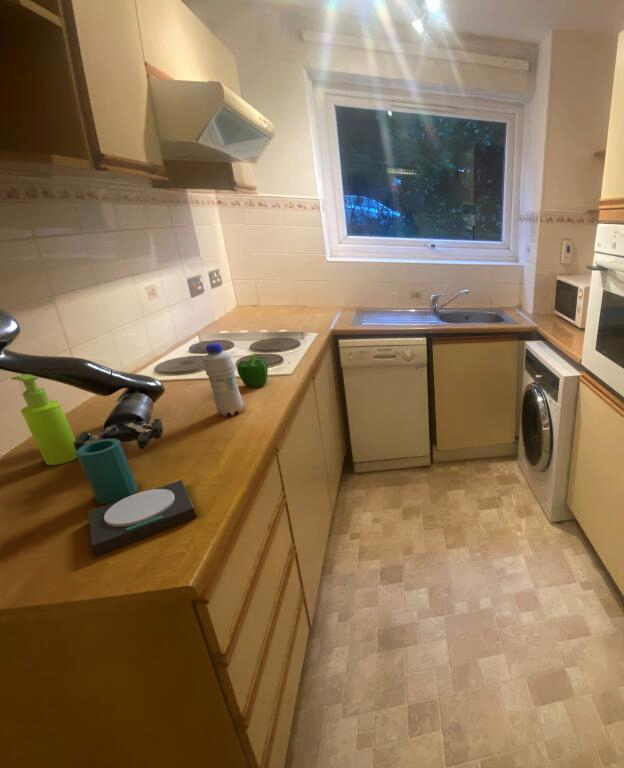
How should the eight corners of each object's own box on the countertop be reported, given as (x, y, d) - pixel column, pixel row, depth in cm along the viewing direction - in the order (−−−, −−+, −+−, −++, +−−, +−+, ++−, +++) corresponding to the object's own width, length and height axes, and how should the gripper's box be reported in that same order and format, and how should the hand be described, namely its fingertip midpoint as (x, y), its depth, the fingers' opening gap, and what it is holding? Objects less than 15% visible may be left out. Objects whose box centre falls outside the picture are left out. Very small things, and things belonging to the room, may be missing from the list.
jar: (98, 508, 83) (76, 459, 78) (96, 493, 87) (75, 446, 82) (139, 494, 86) (120, 447, 82) (136, 481, 91) (118, 435, 86)
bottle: (211, 417, 118) (191, 347, 110) (229, 406, 124) (211, 339, 116) (234, 418, 117) (215, 348, 109) (251, 408, 123) (234, 340, 115)
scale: (96, 556, 71) (90, 543, 70) (92, 520, 79) (87, 508, 78) (197, 517, 80) (192, 505, 79) (184, 488, 88) (180, 477, 87)
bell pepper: (249, 392, 133) (241, 361, 130) (237, 385, 138) (229, 356, 134) (276, 383, 140) (270, 354, 136) (264, 378, 144) (257, 349, 140)
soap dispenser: (68, 448, 102) (32, 369, 95) (87, 453, 100) (53, 373, 93) (36, 461, 97) (-4, 379, 89) (56, 467, 95) (17, 383, 87)
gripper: (171, 426, 107) (162, 456, 94) (95, 441, 100) (75, 475, 88) (161, 399, 104) (151, 426, 91) (83, 412, 98) (60, 443, 85)
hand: (114, 450), depth 90 cm, fingers open, 8 cm apart
